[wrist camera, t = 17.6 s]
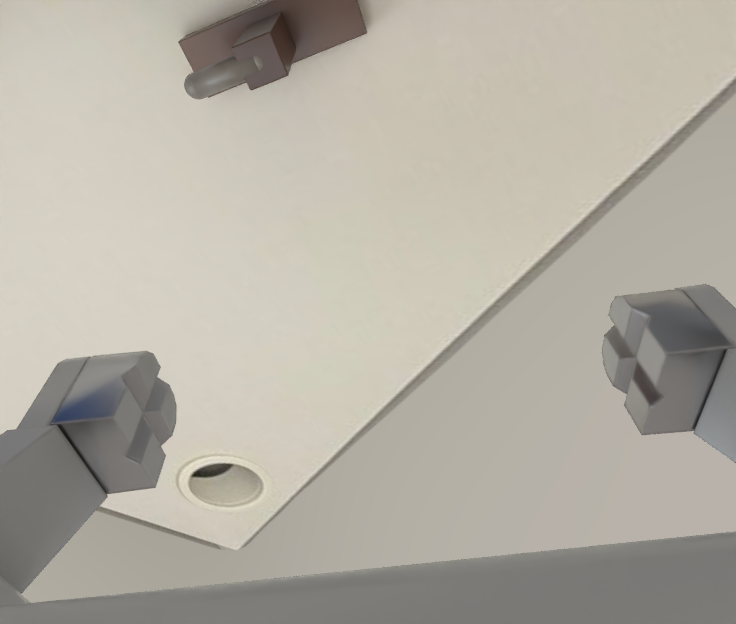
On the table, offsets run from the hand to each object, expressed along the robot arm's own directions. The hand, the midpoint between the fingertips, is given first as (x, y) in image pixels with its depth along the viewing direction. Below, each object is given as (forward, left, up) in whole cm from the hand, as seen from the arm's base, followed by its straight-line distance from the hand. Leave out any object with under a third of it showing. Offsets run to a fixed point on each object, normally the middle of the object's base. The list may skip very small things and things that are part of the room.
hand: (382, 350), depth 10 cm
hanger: (+4, -2, -27) cm, 27 cm away
